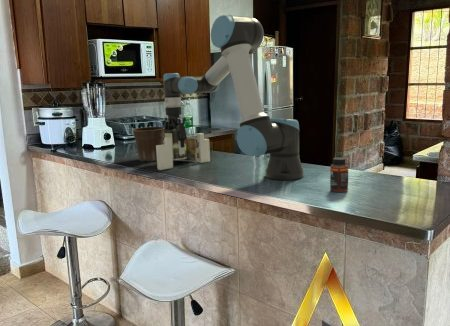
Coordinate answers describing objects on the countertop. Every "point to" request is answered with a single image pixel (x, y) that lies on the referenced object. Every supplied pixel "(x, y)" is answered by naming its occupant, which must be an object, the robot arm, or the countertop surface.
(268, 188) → the countertop surface
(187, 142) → the door
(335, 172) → the supplement bottle
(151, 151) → the plant pot
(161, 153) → the door frame
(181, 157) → the coffee can
